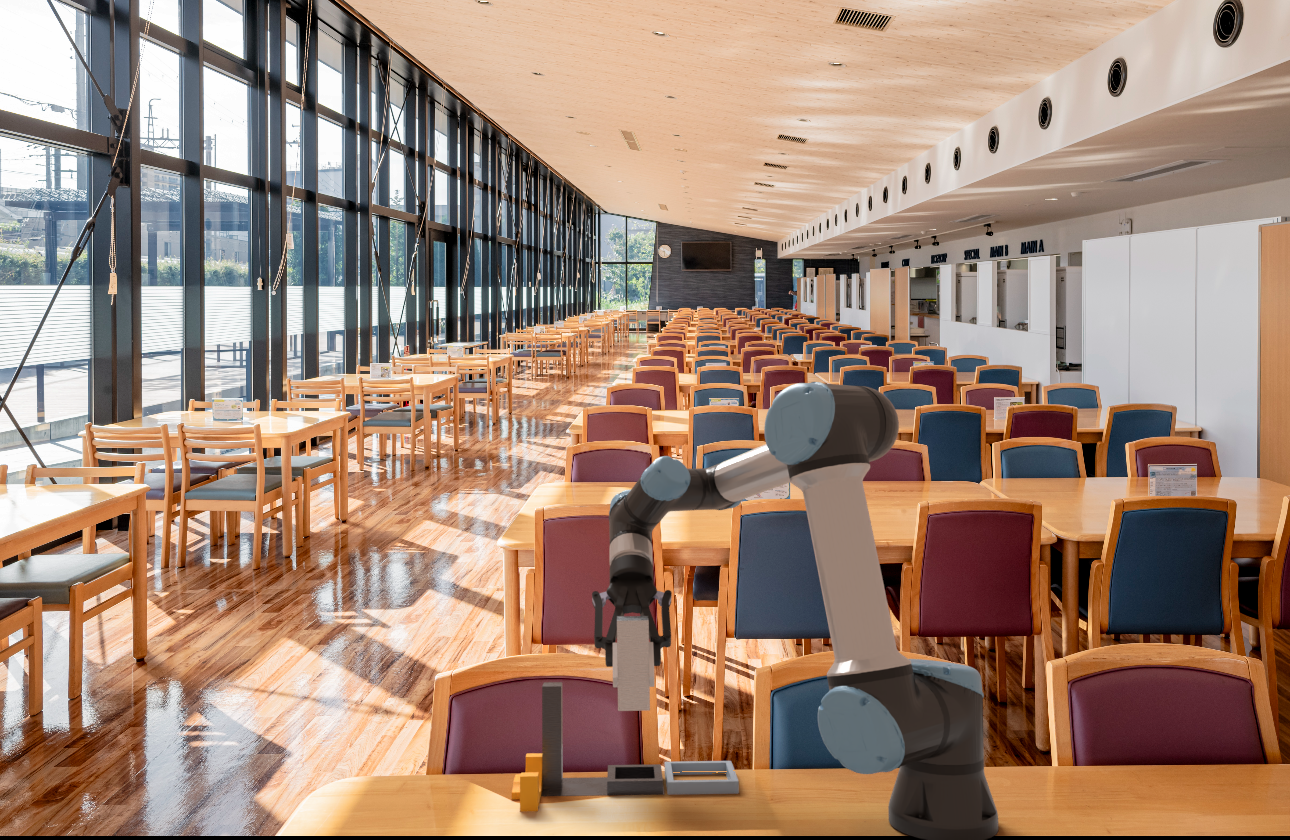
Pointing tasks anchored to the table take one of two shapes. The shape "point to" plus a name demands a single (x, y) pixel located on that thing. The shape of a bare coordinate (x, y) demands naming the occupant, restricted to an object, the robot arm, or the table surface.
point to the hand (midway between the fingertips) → (633, 681)
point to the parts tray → (701, 785)
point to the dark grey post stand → (615, 783)
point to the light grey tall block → (633, 663)
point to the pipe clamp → (529, 783)
